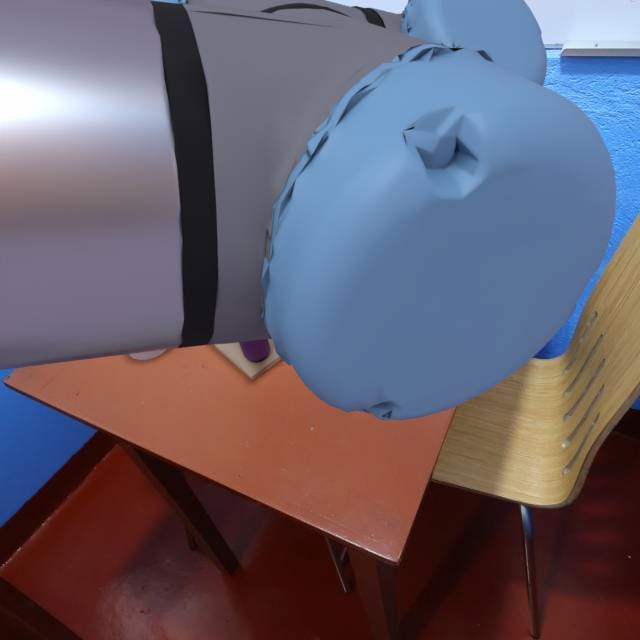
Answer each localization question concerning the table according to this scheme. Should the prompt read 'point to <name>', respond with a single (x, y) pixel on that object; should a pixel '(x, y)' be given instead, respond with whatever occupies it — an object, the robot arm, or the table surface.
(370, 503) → the table surface
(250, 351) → the purple cylinder
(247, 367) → the board
